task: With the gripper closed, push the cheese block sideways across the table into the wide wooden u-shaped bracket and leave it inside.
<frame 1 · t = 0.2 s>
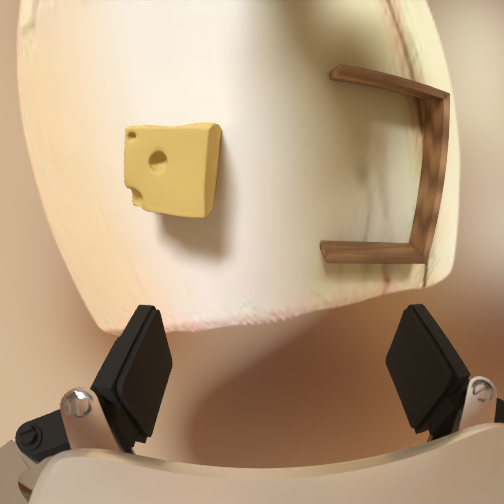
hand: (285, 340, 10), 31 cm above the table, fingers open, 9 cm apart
cheese: (186, 159, 37), on the table
wooden u-shaped bracket: (380, 166, 36), on the table
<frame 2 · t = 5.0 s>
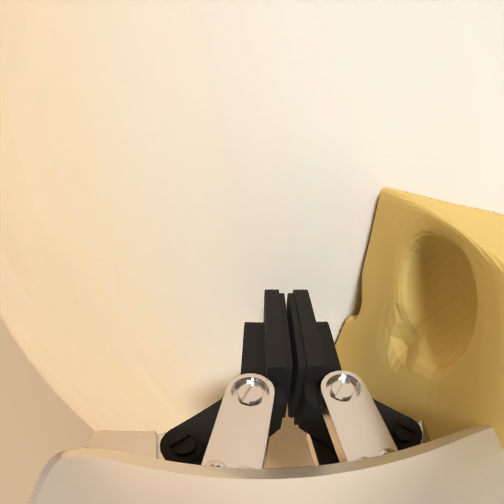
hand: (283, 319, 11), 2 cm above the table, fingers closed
cheese: (431, 287, 12), on the table, touching gripper
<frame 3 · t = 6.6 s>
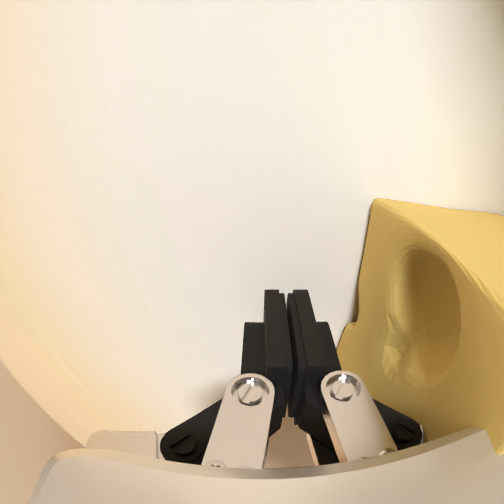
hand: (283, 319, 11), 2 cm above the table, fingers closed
cheese: (430, 291, 12), on the table, touching gripper
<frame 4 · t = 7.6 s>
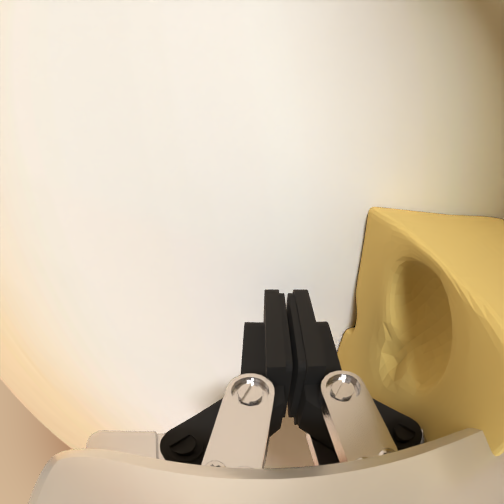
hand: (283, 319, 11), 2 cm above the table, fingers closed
cheese: (428, 295, 12), on the table, touching gripper
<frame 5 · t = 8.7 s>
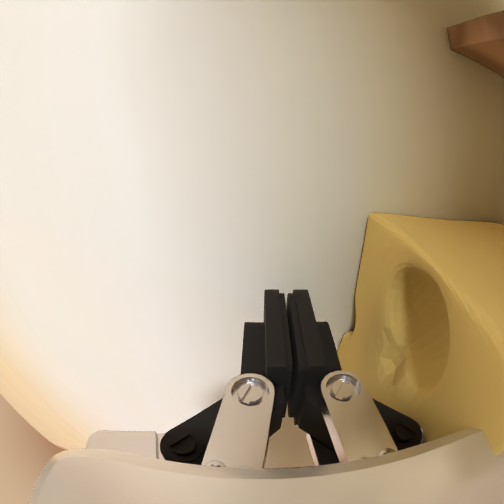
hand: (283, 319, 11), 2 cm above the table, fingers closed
cheese: (427, 299, 13), on the table, touching gripper
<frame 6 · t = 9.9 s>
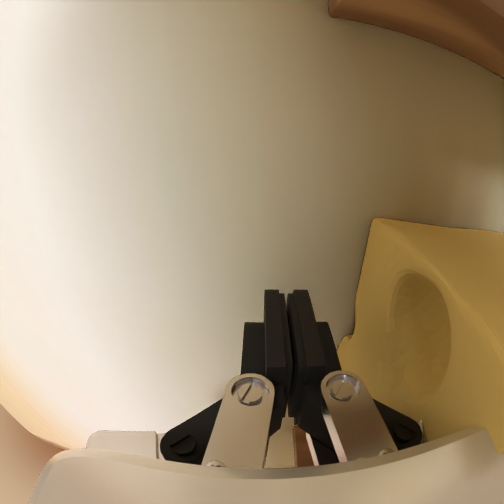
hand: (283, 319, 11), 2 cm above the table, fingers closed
cheese: (425, 305, 13), on the table, touching gripper
wooden u-shaped bracket: (456, 288, 12), on the table
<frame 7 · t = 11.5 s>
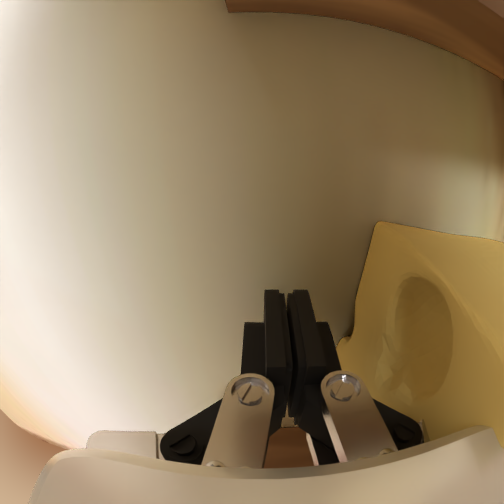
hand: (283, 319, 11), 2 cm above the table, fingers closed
cheese: (423, 310, 13), on the table
wooden u-shaped bracket: (401, 294, 12), on the table
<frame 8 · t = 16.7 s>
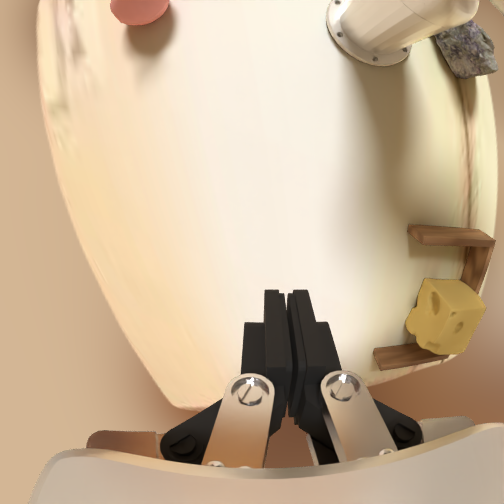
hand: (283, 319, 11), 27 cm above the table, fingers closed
mineral rock: (448, 42, 24), on the table
cheese: (433, 299, 43), on the table
pink rounded piece: (150, 10, 25), on the table
wooden u-shaped bracket: (427, 295, 42), on the table
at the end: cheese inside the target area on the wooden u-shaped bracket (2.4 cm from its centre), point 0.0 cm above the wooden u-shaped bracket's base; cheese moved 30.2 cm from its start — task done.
